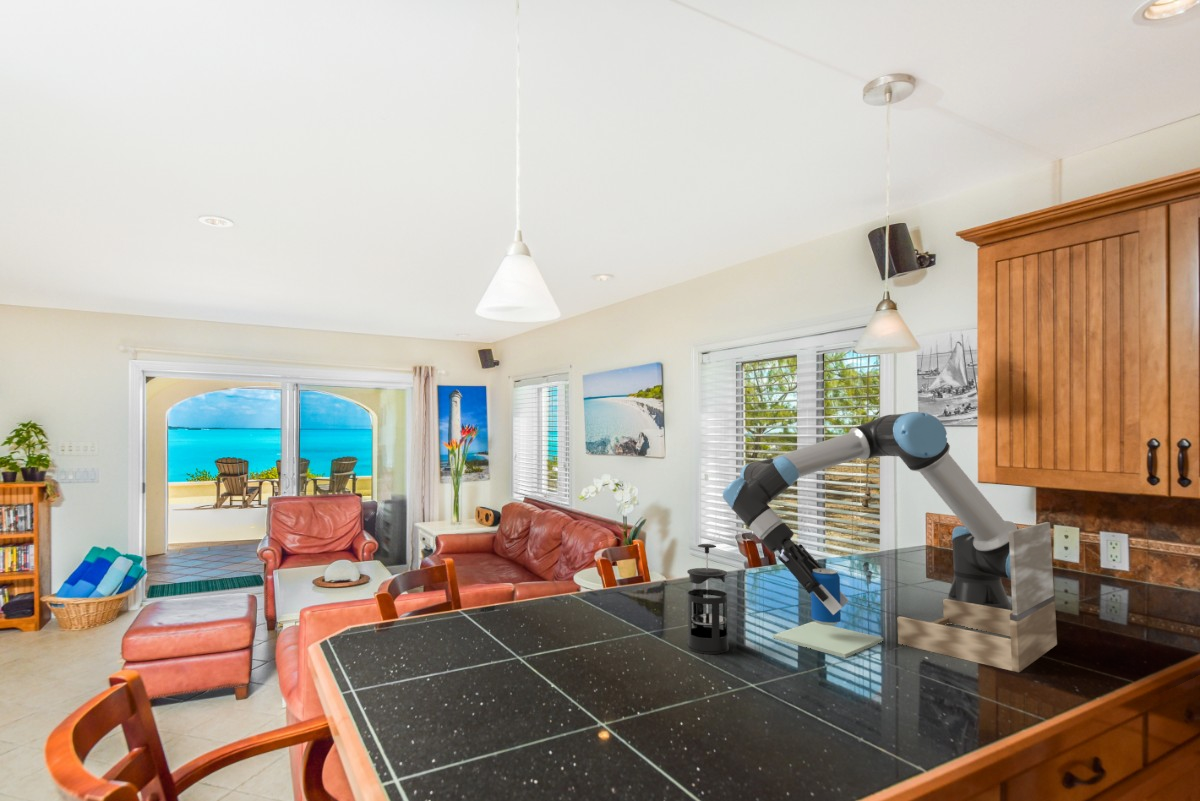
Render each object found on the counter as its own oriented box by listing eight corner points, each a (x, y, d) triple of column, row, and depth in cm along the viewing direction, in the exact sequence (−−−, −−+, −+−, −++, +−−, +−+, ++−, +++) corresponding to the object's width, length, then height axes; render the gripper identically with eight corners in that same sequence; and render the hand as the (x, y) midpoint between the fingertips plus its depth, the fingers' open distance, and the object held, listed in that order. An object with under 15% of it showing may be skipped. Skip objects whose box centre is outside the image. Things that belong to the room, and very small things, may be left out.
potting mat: (772, 638, 146) (772, 634, 146) (813, 624, 158) (813, 621, 158) (845, 658, 133) (844, 654, 133) (883, 641, 144) (883, 637, 144)
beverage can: (836, 619, 148) (835, 568, 149) (844, 626, 142) (843, 573, 143) (808, 618, 149) (807, 567, 150) (815, 625, 143) (814, 573, 144)
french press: (737, 653, 135) (736, 547, 137) (697, 656, 133) (696, 548, 135) (715, 637, 146) (714, 539, 148) (677, 640, 144) (677, 540, 146)
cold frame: (898, 643, 143) (894, 521, 145) (945, 622, 161) (941, 513, 163) (1019, 672, 124) (1013, 532, 127) (1057, 644, 143) (1051, 522, 145)
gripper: (774, 536, 164) (840, 609, 153) (747, 546, 148) (819, 627, 137) (794, 518, 161) (862, 590, 151) (769, 525, 145) (843, 606, 135)
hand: (841, 607), depth 144 cm, fingers closed on beverage can, 6 cm apart
